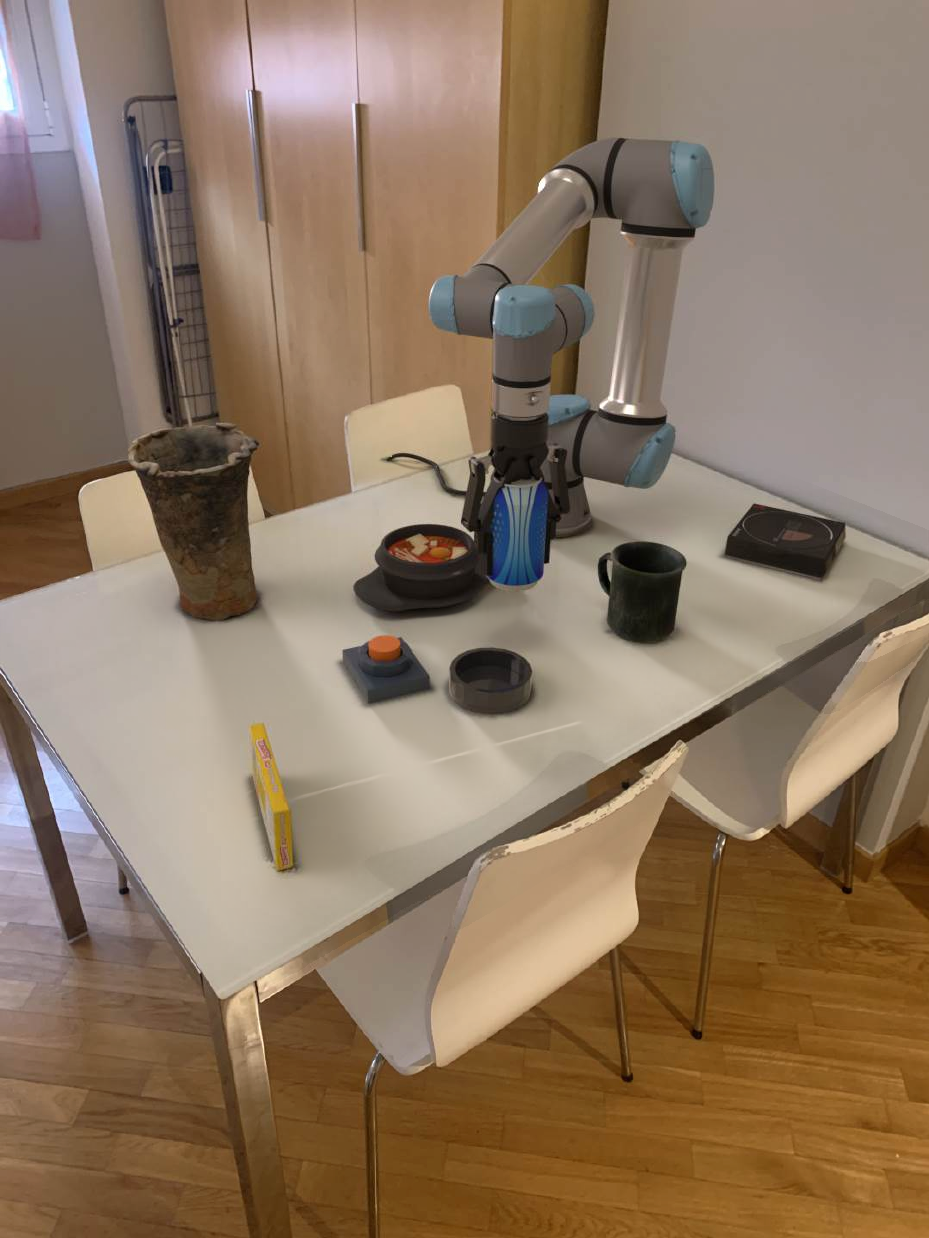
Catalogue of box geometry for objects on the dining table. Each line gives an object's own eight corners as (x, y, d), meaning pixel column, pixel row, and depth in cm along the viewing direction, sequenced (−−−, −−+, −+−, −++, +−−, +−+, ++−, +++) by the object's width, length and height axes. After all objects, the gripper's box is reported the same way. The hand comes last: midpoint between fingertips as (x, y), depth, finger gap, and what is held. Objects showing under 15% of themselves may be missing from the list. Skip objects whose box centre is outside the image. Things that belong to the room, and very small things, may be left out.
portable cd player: (824, 580, 163) (828, 559, 161) (724, 556, 171) (727, 536, 169) (844, 543, 176) (848, 523, 174) (750, 523, 183) (753, 503, 181)
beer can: (481, 567, 143) (483, 465, 135) (538, 565, 144) (543, 463, 136) (487, 595, 136) (490, 489, 128) (547, 593, 137) (553, 487, 128)
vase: (288, 612, 152) (272, 449, 138) (171, 642, 144) (142, 472, 130) (250, 565, 165) (233, 412, 151) (141, 590, 157) (113, 431, 144)
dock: (436, 678, 137) (436, 657, 135) (508, 661, 141) (509, 640, 139) (469, 722, 128) (470, 700, 126) (544, 703, 132) (546, 681, 130)
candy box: (296, 867, 105) (290, 809, 101) (276, 872, 104) (270, 813, 100) (270, 775, 118) (264, 720, 114) (252, 779, 118) (245, 724, 113)
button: (364, 649, 136) (364, 638, 135) (394, 643, 138) (393, 632, 137) (375, 665, 133) (374, 654, 132) (405, 658, 134) (405, 647, 134)
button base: (342, 662, 140) (341, 638, 138) (401, 649, 143) (401, 626, 141) (368, 703, 131) (367, 679, 129) (430, 689, 134) (429, 664, 132)
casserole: (393, 636, 146) (391, 587, 142) (332, 587, 159) (329, 541, 155) (523, 591, 159) (525, 544, 155) (457, 548, 172) (458, 505, 168)
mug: (646, 654, 143) (655, 582, 137) (572, 616, 152) (578, 547, 146) (691, 629, 149) (702, 559, 143) (618, 594, 158) (625, 527, 152)
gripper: (457, 432, 120) (456, 592, 132) (605, 410, 128) (592, 563, 140) (434, 413, 126) (435, 567, 138) (576, 393, 134) (566, 541, 145)
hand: (514, 565), depth 139 cm, fingers closed on beer can, 8 cm apart
